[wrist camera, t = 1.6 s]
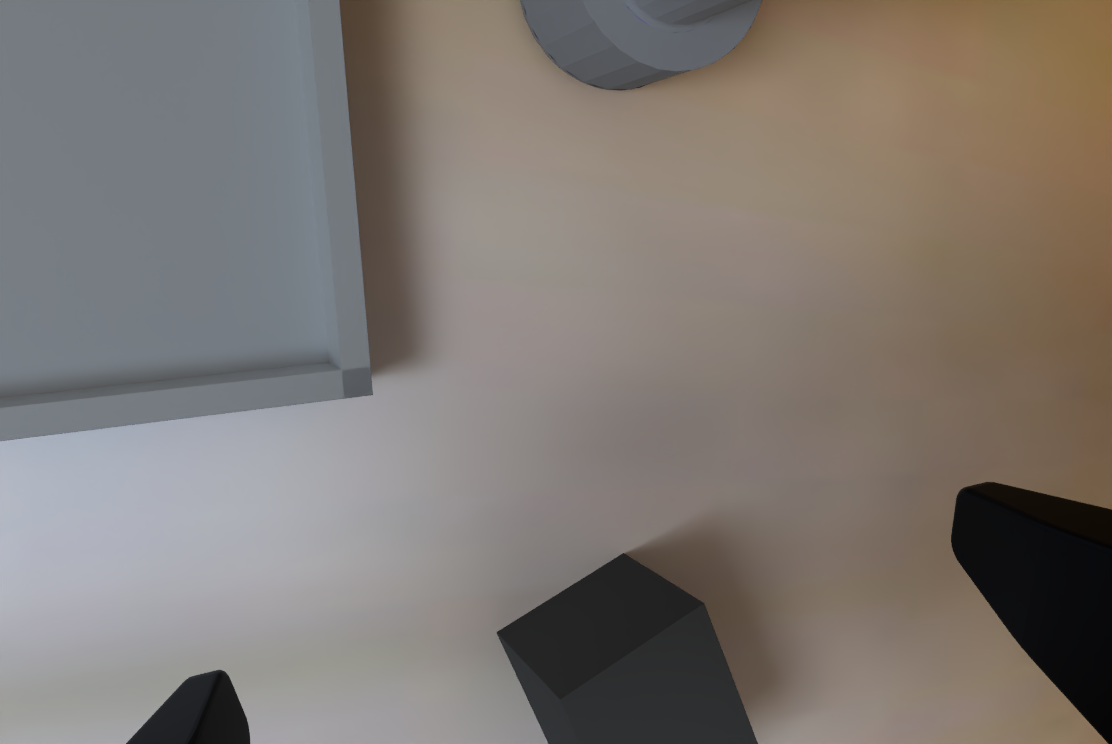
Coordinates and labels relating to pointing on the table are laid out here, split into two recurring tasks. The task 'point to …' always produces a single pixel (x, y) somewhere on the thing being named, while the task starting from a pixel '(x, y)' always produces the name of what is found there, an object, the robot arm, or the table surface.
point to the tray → (175, 212)
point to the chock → (626, 664)
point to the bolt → (636, 36)
